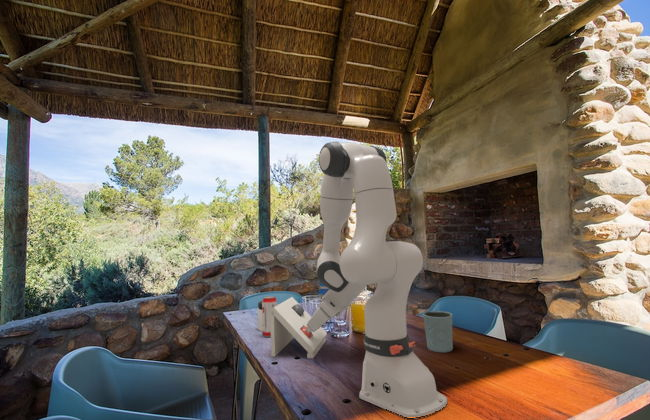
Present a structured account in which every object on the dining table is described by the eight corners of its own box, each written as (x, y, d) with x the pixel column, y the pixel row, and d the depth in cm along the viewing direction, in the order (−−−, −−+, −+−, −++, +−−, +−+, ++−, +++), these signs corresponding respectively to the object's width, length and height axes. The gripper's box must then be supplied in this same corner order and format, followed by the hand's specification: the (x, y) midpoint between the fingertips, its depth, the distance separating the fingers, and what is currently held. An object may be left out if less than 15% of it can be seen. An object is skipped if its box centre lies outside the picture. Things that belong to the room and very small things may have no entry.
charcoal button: (305, 316, 132) (305, 303, 132) (302, 318, 128) (302, 305, 129) (293, 315, 133) (293, 303, 134) (290, 318, 129) (289, 305, 130)
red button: (313, 339, 123) (313, 325, 123) (310, 342, 119) (310, 328, 119) (300, 338, 124) (300, 325, 124) (297, 342, 120) (296, 328, 120)
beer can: (279, 333, 145) (278, 295, 147) (275, 337, 139) (274, 298, 140) (265, 333, 146) (264, 295, 147) (260, 337, 140) (260, 298, 141)
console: (327, 340, 134) (325, 296, 135) (314, 358, 114) (312, 307, 115) (290, 338, 137) (288, 296, 138) (271, 356, 118) (270, 307, 119)
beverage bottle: (339, 322, 160) (337, 279, 162) (322, 324, 157) (320, 281, 158) (332, 318, 168) (330, 277, 169) (316, 320, 165) (314, 279, 166)
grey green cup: (444, 355, 113) (442, 318, 114) (418, 348, 121) (416, 313, 122) (460, 348, 119) (457, 313, 120) (434, 341, 127) (432, 309, 128)
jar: (264, 325, 158) (264, 299, 159) (280, 326, 156) (279, 300, 156) (254, 331, 150) (254, 303, 151) (270, 332, 147) (270, 304, 148)
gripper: (333, 291, 131) (309, 317, 132) (320, 302, 111) (293, 332, 112) (345, 303, 129) (321, 329, 131) (334, 316, 110) (306, 346, 111)
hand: (308, 330), depth 121 cm, fingers closed, pressing on red button
